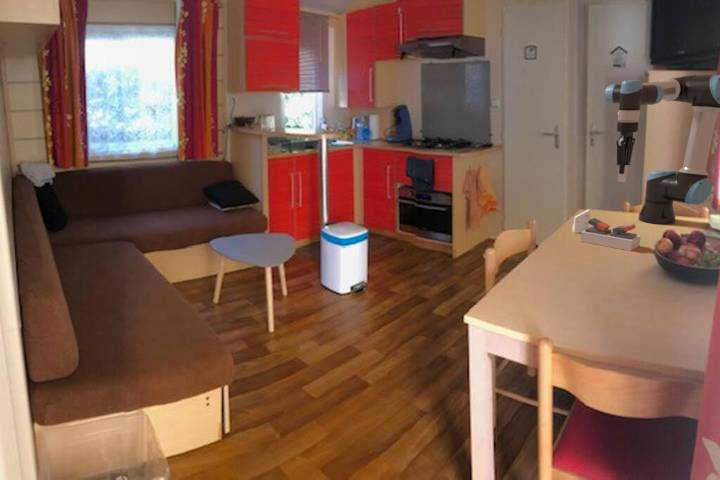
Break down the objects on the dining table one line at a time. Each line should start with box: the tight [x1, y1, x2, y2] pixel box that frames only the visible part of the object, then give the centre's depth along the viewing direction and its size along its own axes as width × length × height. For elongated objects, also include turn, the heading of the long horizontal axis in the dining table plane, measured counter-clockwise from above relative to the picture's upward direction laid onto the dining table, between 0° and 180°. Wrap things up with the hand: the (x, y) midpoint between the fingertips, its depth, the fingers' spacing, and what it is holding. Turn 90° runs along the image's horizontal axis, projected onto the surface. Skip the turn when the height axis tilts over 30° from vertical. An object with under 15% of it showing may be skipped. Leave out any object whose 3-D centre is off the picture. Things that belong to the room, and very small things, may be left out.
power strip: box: [580, 226, 641, 252], centre depth 242 cm, size 9×20×5 cm, turn 45°
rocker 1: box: [588, 217, 611, 231], centre depth 244 cm, size 5×7×2 cm
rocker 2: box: [611, 223, 636, 234], centre depth 237 cm, size 5×7×2 cm
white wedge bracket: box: [571, 208, 591, 234], centre depth 260 cm, size 4×10×9 cm, turn 84°
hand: (621, 181), depth 240 cm, fingers closed
